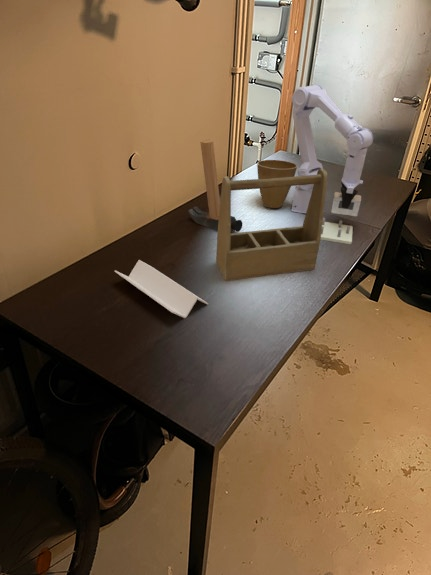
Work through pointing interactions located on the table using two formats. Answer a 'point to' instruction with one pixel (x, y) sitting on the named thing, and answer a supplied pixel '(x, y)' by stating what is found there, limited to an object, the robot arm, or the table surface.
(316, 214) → the caddy
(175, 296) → the z bracket
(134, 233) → the table surface
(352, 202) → the block
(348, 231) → the peg board
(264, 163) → the plant pot
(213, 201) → the hammer
